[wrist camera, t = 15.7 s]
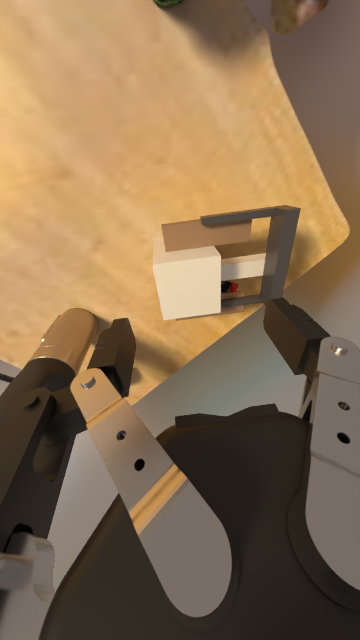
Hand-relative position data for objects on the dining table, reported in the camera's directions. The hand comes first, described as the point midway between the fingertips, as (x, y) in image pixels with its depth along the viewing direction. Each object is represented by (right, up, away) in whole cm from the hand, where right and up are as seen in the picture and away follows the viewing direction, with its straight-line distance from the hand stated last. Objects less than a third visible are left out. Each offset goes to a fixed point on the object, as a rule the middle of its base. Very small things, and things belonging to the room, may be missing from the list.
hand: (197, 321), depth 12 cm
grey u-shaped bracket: (+9, +10, +23) cm, 27 cm away
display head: (+5, +15, +34) cm, 38 cm away
